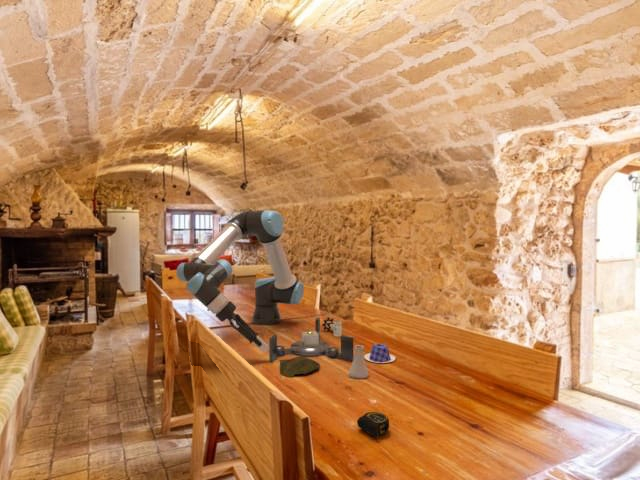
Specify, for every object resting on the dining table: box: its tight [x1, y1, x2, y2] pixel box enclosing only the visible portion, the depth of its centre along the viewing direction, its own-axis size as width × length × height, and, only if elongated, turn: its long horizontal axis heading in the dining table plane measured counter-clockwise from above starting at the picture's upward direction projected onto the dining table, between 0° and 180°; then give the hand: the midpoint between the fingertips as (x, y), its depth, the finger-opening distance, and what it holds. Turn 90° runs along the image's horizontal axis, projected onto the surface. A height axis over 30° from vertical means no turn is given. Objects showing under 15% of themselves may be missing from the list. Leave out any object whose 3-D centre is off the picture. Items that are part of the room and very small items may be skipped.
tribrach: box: [285, 316, 354, 363], centre depth 167 cm, size 36×25×9 cm
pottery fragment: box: [279, 356, 321, 379], centre depth 143 cm, size 14×14×4 cm
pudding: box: [363, 343, 397, 364], centre depth 155 cm, size 12×12×5 cm
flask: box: [348, 344, 370, 379], centre depth 138 cm, size 7×7×10 cm
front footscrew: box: [268, 334, 286, 363], centre depth 156 cm, size 11×4×9 cm, turn 166°
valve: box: [321, 316, 343, 338], centre depth 190 cm, size 7×7×12 cm
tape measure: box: [356, 411, 390, 438], centre depth 100 cm, size 7×7×4 cm
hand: (266, 350), depth 153 cm, fingers closed
